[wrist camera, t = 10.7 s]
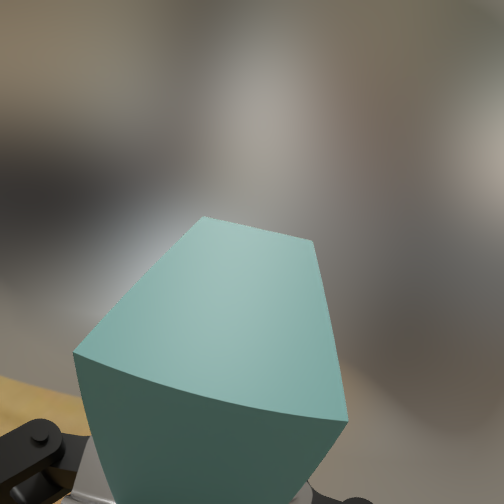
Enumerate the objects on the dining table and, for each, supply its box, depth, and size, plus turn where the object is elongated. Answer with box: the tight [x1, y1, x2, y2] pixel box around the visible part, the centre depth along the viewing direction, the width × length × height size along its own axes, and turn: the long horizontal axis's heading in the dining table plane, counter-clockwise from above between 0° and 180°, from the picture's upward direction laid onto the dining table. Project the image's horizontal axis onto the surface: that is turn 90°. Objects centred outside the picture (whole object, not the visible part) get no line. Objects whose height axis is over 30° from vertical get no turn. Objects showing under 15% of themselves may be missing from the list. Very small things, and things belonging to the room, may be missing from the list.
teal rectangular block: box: [73, 216, 348, 504], centre depth 8 cm, size 3×6×14 cm, turn 174°
